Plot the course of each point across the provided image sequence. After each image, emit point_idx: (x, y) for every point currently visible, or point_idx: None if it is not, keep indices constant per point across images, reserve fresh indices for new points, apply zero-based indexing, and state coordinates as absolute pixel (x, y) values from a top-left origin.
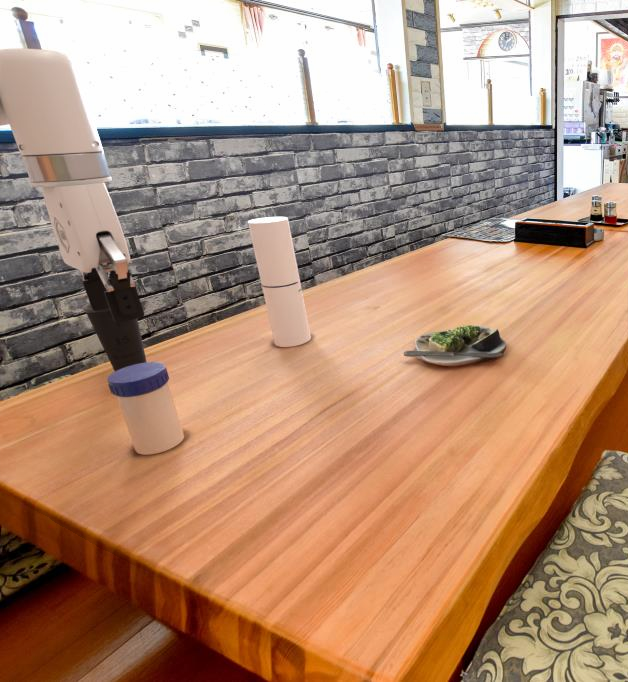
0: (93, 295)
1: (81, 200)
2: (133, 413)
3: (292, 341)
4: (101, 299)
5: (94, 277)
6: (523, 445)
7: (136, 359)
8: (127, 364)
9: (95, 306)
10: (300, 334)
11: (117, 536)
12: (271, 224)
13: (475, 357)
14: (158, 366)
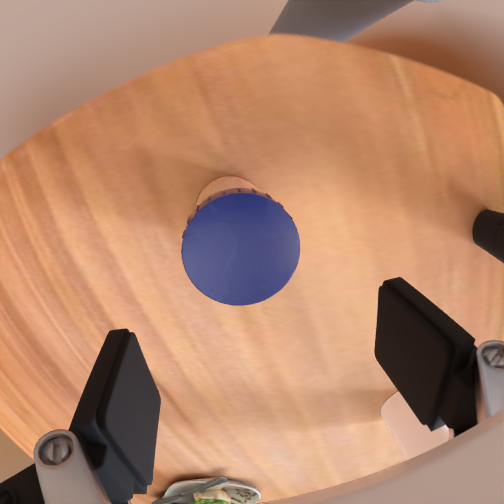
0: (409, 325)
1: None
2: (201, 202)
3: (387, 407)
4: (395, 331)
5: (454, 393)
6: (19, 436)
7: (487, 243)
8: (487, 229)
9: (387, 295)
10: (385, 420)
11: (36, 140)
12: None
13: (164, 497)
14: (239, 294)
